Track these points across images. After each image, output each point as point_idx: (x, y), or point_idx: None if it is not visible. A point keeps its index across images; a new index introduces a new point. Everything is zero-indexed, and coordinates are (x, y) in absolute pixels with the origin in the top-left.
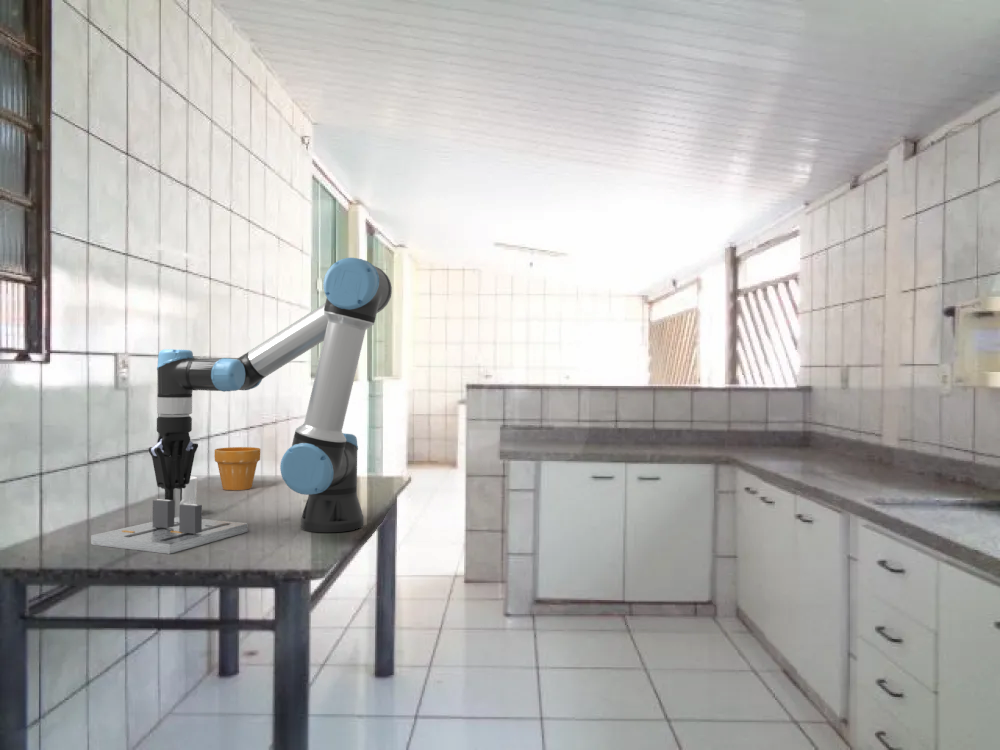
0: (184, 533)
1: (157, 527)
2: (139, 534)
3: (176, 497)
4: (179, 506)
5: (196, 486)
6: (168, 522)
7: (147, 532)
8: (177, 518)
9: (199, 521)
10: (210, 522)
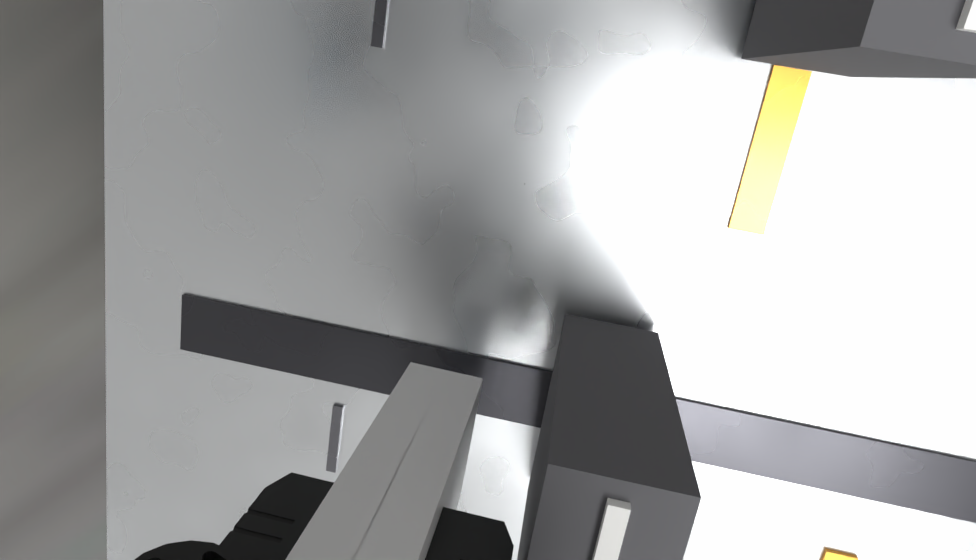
0: None
1: None
2: (943, 452)
3: (409, 516)
4: (386, 421)
5: None
6: (648, 352)
7: (835, 431)
8: (174, 513)
9: None
10: (217, 99)
